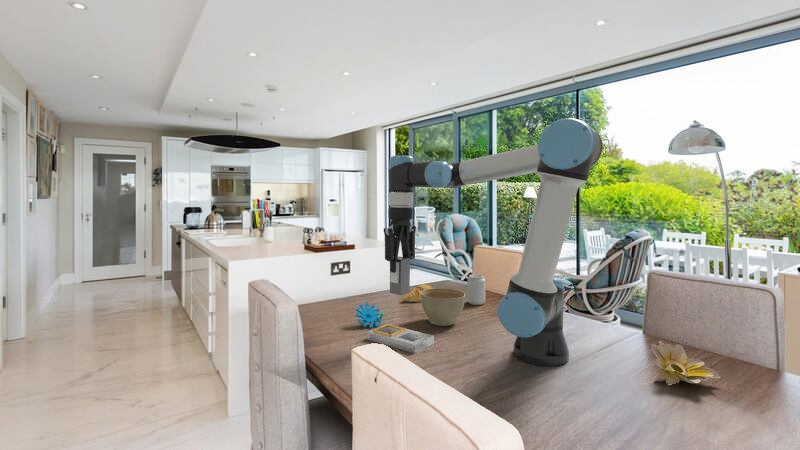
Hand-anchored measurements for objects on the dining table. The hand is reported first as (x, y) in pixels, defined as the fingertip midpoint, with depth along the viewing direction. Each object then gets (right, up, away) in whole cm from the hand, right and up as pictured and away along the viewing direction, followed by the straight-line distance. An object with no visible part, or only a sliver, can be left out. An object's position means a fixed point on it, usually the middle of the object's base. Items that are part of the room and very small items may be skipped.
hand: (399, 281), depth 129 cm
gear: (-10, -18, +18) cm, 28 cm away
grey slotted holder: (0, -19, +1) cm, 19 cm away
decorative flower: (+69, -21, -27) cm, 77 cm away
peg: (0, -4, 0) cm, 4 cm away
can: (+33, -16, +47) cm, 59 cm away
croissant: (+10, -16, +55) cm, 58 cm away
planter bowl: (+16, -18, +21) cm, 32 cm away
